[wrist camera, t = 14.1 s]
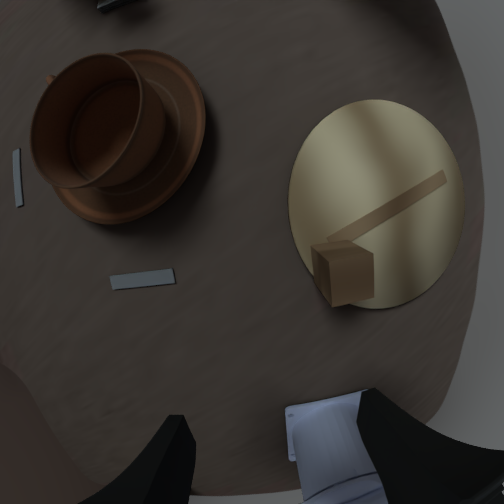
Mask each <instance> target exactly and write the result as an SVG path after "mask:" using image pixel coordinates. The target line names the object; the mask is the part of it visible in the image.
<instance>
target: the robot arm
mask: <svg viewBox="0 0 504 504" xmlns="http://www.w3.org/2000/svg"><path fill="white" fill-rule="evenodd" d="M285 418H286V430H287V443H288V455H289V460H290V461H296V462H297V467H298V473H299V478H300V483H301V489H302V494H303V500H304V502H303V503H300V504H504V495H503V494H502V491H503V490H504V487H503V485H502V483H503V482H504V451H503V450H493V449H486V448H481V447H477V446H473V445H469V444H466V443H463V442H460V441H457V440H454V439H452V438H449V437H447V436H445V435H442V434H441V433H439V432H436V431H435V430H433V429H431V428H429V427H428V426H426V425H424V424H423V423H421V422H420V421H418V420H417V419H415V418H414V417H412V416H411V415H409V414H408V413H407V412H405V411H404V410H402V409H401V408H400V407H398V406H397V405H396V404H395V403H393V402H392V401H391V400H390V399H388V398H387V397H386V396H385V395H383V394H382V393H381V392H380V391H379V390H377V389H376V388H372V389H366V390H362V391H358V392H355V393H351V394H347V395H343V396H338V397H334V398H330V399H325V400H320V401H315V402H310V403H304V404H299V405H293V406H288V407H286V409H285ZM195 460H196V442H195V440H194V438H193V435H192V433H191V431H190V429H189V427H188V424H187V422H186V420H185V417H184V415H169V416H168V417H167V418H166V420H165V421H164V423H163V424H162V425H161V427H160V428H159V430H158V431H157V432H156V434H155V435H154V437H153V438H152V439H151V441H150V442H149V443H148V444H147V446H146V447H145V448H144V449H143V451H142V452H141V453H140V454H139V455H138V456H137V458H136V459H135V460H134V461H133V462H132V463H131V464H130V465H129V466H128V467H127V468H126V469H125V470H124V471H123V472H122V473H121V474H120V475H119V476H118V477H117V478H116V479H114V480H113V481H112V482H111V483H109V484H108V485H107V486H106V487H104V488H103V489H102V490H100V491H99V492H97V493H95V494H94V495H92V496H90V497H89V498H87V499H85V500H83V501H82V502H80V503H78V504H188V501H189V496H190V490H191V485H192V479H193V474H194V468H195Z"/></svg>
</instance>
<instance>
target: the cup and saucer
mask: <svg viewBox="0 0 504 504" xmlns="http://www.w3.org/2000/svg"><path fill="white" fill-rule="evenodd" d="M46 82H47V83H48V87H47V88H46V90H45V91H44V93H43V94H42V96H41V98H40V100H39V102H38V104H37V107H36V109H35V112H34V115H33V118H32V123H31V128H30V151H31V156H32V160H33V162H34V165H35V167H36V169H37V171H38V172H39V174H40V175H41V176H42V177H43V178H44V179H45V180H46V181H47V182H48V183H50V184H52V186H53V188H54V190H55V192H56V194H57V196H58V197H59V199H60V200H61V201H62V202H63V204H64V205H65V206H66V207H67V208H68V209H69V210H71V211H72V212H73V213H74V214H76V215H78V216H79V217H81V218H83V219H85V220H88V221H91V222H94V223H99V224H109V225H110V224H121V223H126V222H130V221H134V220H136V219H139V218H141V217H143V216H145V215H147V214H149V213H151V212H152V211H154V210H156V209H157V208H158V207H160V206H161V205H162V204H164V203H165V202H166V201H167V200H168V199H169V198H170V197H171V196H172V195H173V194H174V193H175V192H176V191H177V190H178V189H179V188H180V186H181V185H182V184H183V182H184V181H185V180H186V178H187V177H188V175H189V173H190V172H191V170H192V168H193V166H194V164H195V162H196V160H197V157H198V155H199V152H200V149H201V146H202V143H203V138H204V133H205V125H206V113H205V104H204V99H203V95H202V92H201V89H200V87H199V84H198V82H197V81H196V79H195V77H194V76H193V74H192V73H191V72H190V70H189V69H188V68H187V67H186V66H185V65H184V64H183V63H181V62H180V61H179V60H177V59H175V58H174V57H172V56H170V55H168V54H165V53H163V52H159V51H155V50H148V49H134V50H127V51H123V52H119V53H116V54H112V53H97V54H92V55H88V56H85V57H83V58H81V59H79V60H77V61H75V62H73V63H72V64H70V65H69V66H67V67H66V68H65V69H63V70H62V71H61V72H60V73H59V74H58V75H57V76H53V75H49V76H47V78H46Z"/></svg>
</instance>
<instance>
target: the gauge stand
mask: <svg viewBox="0 0 504 504" xmlns="http://www.w3.org/2000/svg"><path fill="white" fill-rule="evenodd" d="M133 1H136V0H99V2H98V7H97V8H98V10H99V11H100V12H101V13H104V12H106V11H109V10H111V9H114V8H117V7H119V6H122V5H125V4H127V3H130V2H133Z"/></svg>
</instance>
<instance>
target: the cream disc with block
mask: <svg viewBox="0 0 504 504" xmlns="http://www.w3.org/2000/svg"><path fill="white" fill-rule="evenodd" d="M464 215H465V197H464V187H463V182H462V177H461V173H460V170H459V167H458V164H457V161H456V159H455V157H454V154H453V153H452V151H451V149H450V147H449V145H448V144H447V142H446V141H445V139H444V138H443V136H442V135H441V134H440V132H439V131H438V130H437V129H436V128H435V127H434V126H433V125H432V124H431V123H430V122H429V121H428V120H427V119H425V118H424V117H423V116H421V115H420V114H419V113H417V112H416V111H414V110H412V109H410V108H408V107H406V106H404V105H401V104H398V103H395V102H391V101H385V100H364V101H358V102H354V103H351V104H348V105H345V106H343V107H341V108H339V109H337V110H336V111H334V112H333V113H331V114H330V115H328V116H327V117H326V118H324V119H323V120H322V121H321V122H320V123H319V124H318V125H317V126H316V127H315V128H314V129H313V130H312V131H311V133H310V134H309V135H308V137H307V138H306V140H305V141H304V143H303V145H302V146H301V148H300V150H299V152H298V154H297V157H296V159H295V162H294V165H293V168H292V172H291V176H290V181H289V188H288V217H289V223H290V229H291V233H292V236H293V239H294V243H295V245H296V248H297V250H298V252H299V254H300V257H301V259H302V260H303V262H304V263H305V265H306V267H307V268H308V270H309V271H310V272H311V274H312V275H313V276H314V283H315V284H316V286H317V287H318V289H319V290H320V291H321V293H322V294H323V295H324V297H325V298H326V300H327V301H328V302H329V304H330V305H331V307H336V306H341V305H345V304H352V305H355V306H359V307H364V308H371V309H382V308H389V307H394V306H398V305H401V304H404V303H406V302H408V301H410V300H413V299H414V298H416V297H418V296H419V295H421V294H422V293H424V292H425V291H426V290H427V289H428V288H430V287H431V286H432V285H433V284H434V283H435V282H436V281H437V280H438V279H439V277H440V276H441V275H442V274H443V272H444V271H445V270H446V268H447V266H448V265H449V263H450V261H451V260H452V258H453V256H454V253H455V251H456V249H457V246H458V243H459V240H460V237H461V233H462V229H463V223H464Z"/></svg>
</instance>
